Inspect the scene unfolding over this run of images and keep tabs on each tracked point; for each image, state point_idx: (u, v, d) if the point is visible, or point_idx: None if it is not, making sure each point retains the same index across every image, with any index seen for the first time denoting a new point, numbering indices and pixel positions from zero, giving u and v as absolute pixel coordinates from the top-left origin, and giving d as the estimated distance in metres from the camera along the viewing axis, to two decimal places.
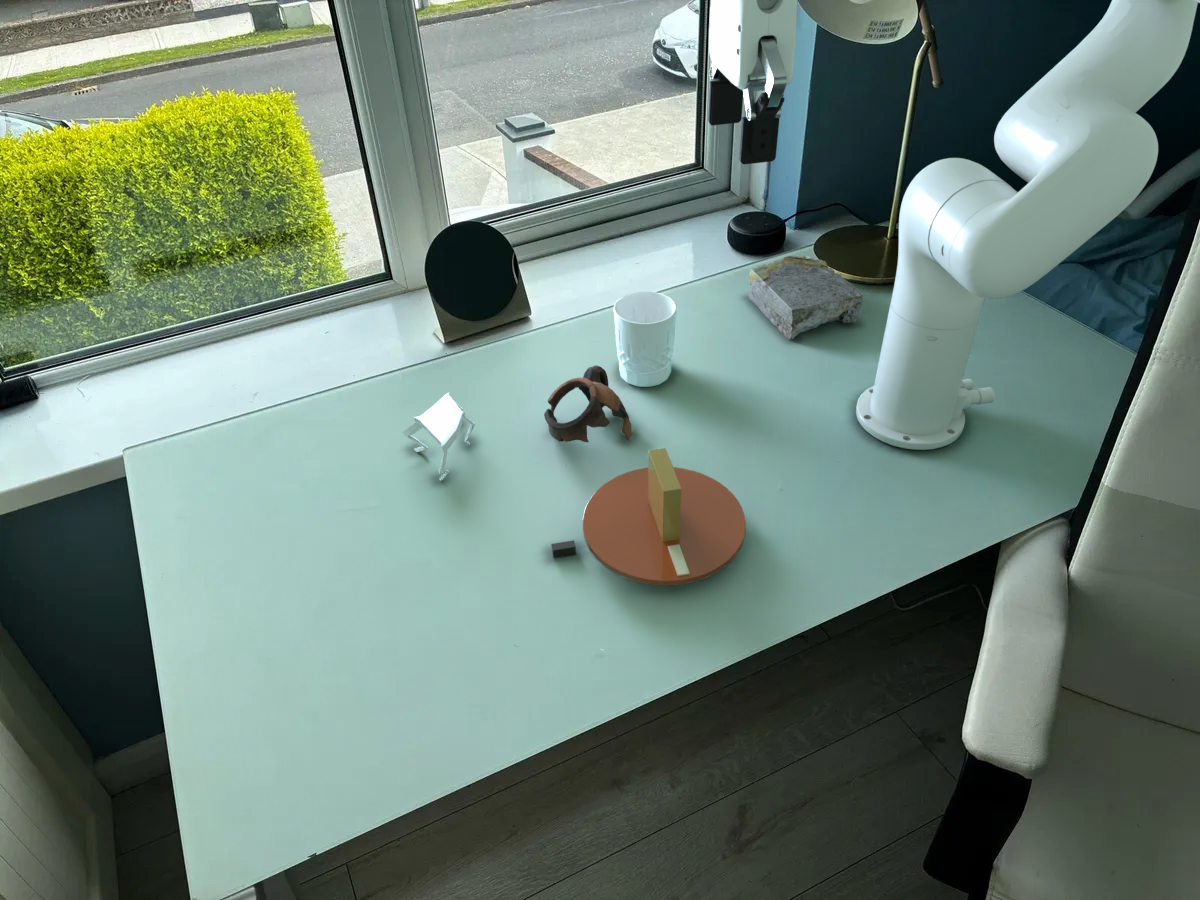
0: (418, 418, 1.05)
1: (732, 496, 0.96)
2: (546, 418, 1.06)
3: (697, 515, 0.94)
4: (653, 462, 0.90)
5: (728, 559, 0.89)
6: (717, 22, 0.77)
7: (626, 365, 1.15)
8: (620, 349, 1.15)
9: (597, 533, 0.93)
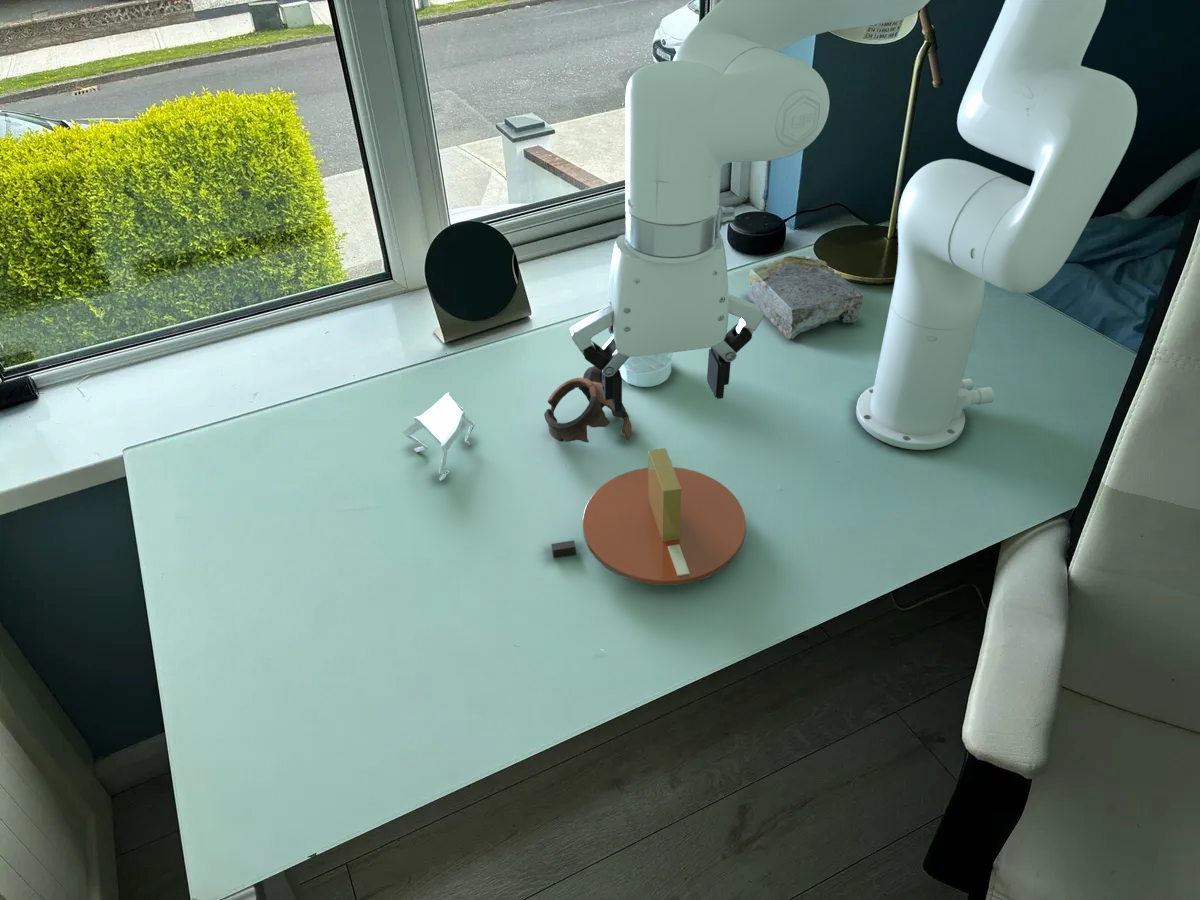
0: (418, 418, 1.05)
1: (732, 496, 0.96)
2: (546, 418, 1.06)
3: (697, 515, 0.94)
4: (653, 462, 0.90)
5: (728, 559, 0.89)
6: (664, 316, 0.76)
7: (626, 365, 1.15)
8: None
9: (597, 533, 0.93)
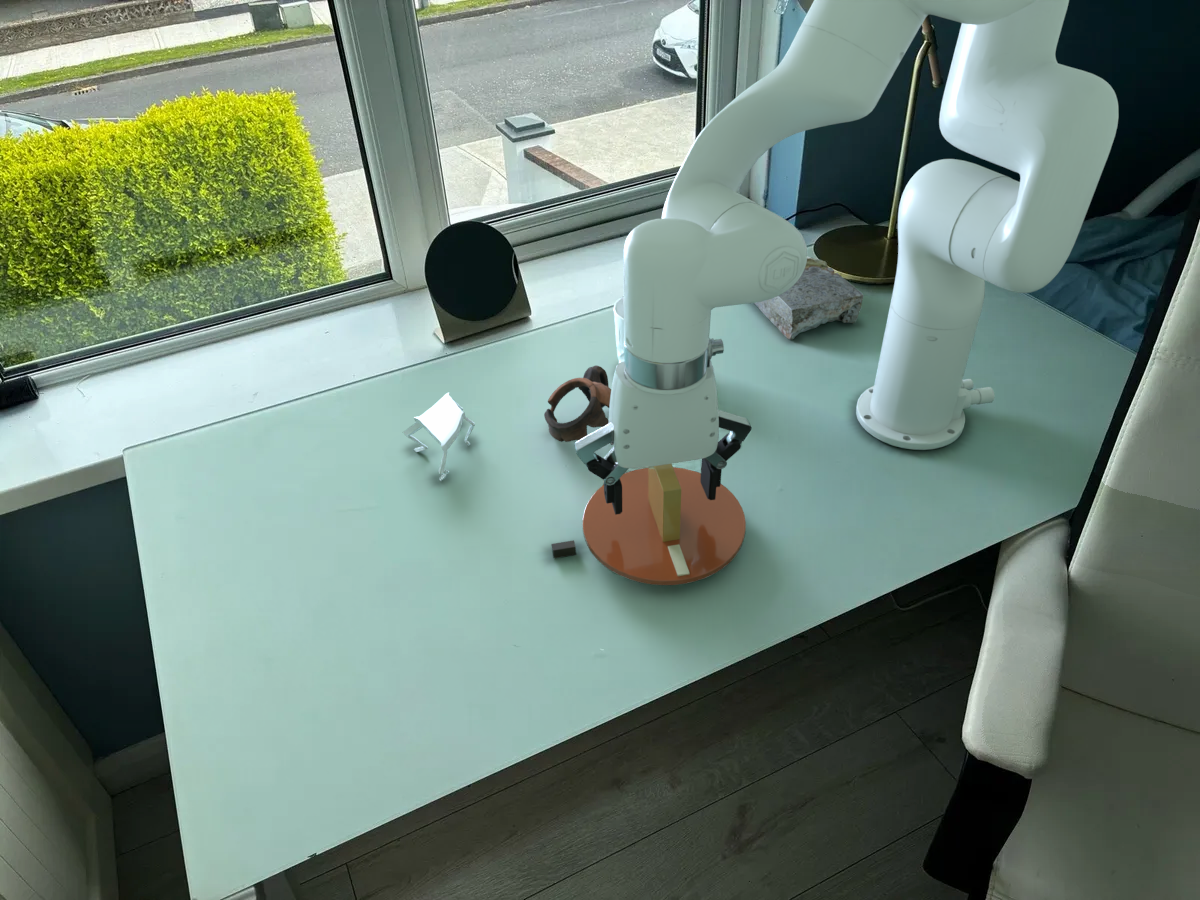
0: (418, 418, 1.05)
1: (732, 496, 0.96)
2: (546, 418, 1.06)
3: (697, 515, 0.94)
4: None
5: (728, 559, 0.89)
6: (660, 435, 0.83)
7: None
8: (620, 349, 1.15)
9: (597, 533, 0.93)
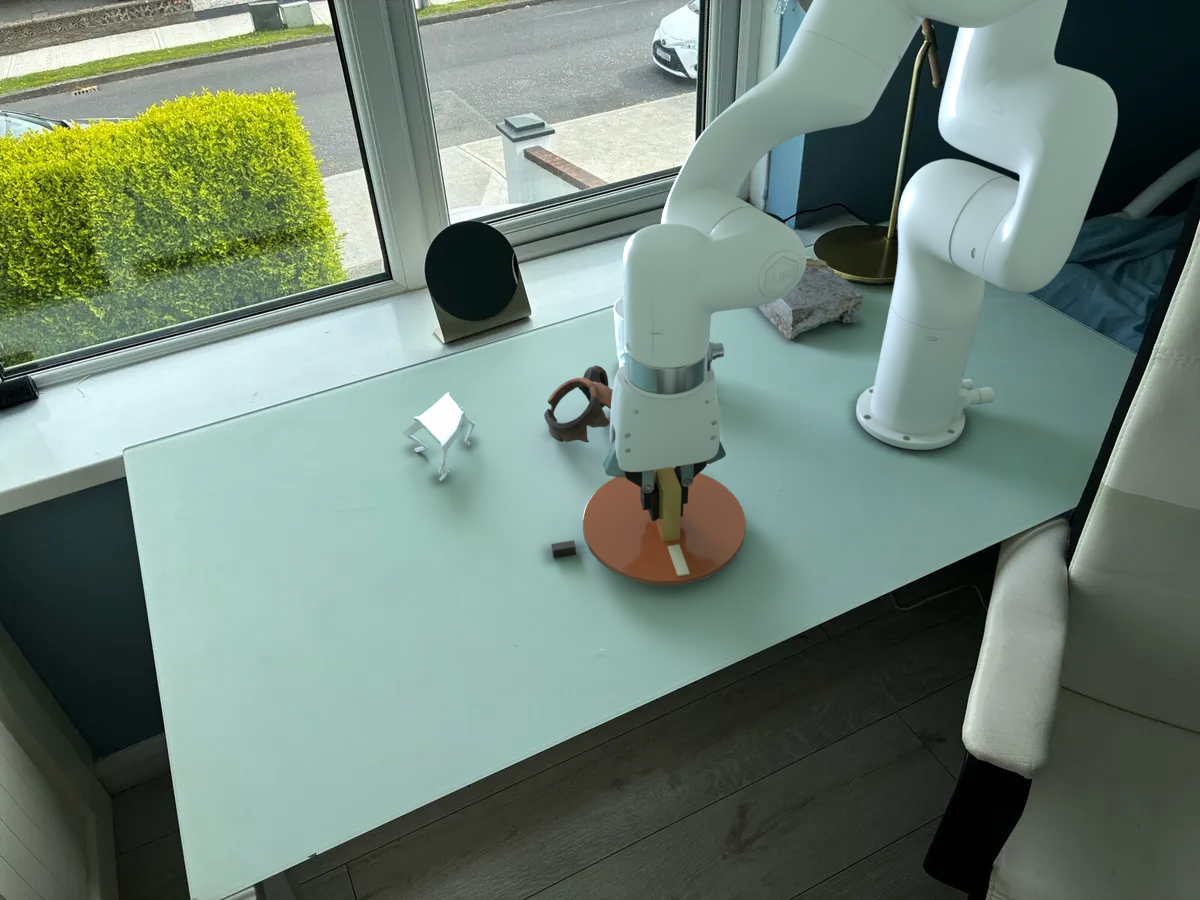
0: (418, 418, 1.05)
1: (732, 496, 0.96)
2: (546, 418, 1.06)
3: (697, 515, 0.94)
4: None
5: (728, 559, 0.89)
6: (661, 439, 0.84)
7: None
8: (620, 349, 1.15)
9: (597, 533, 0.93)
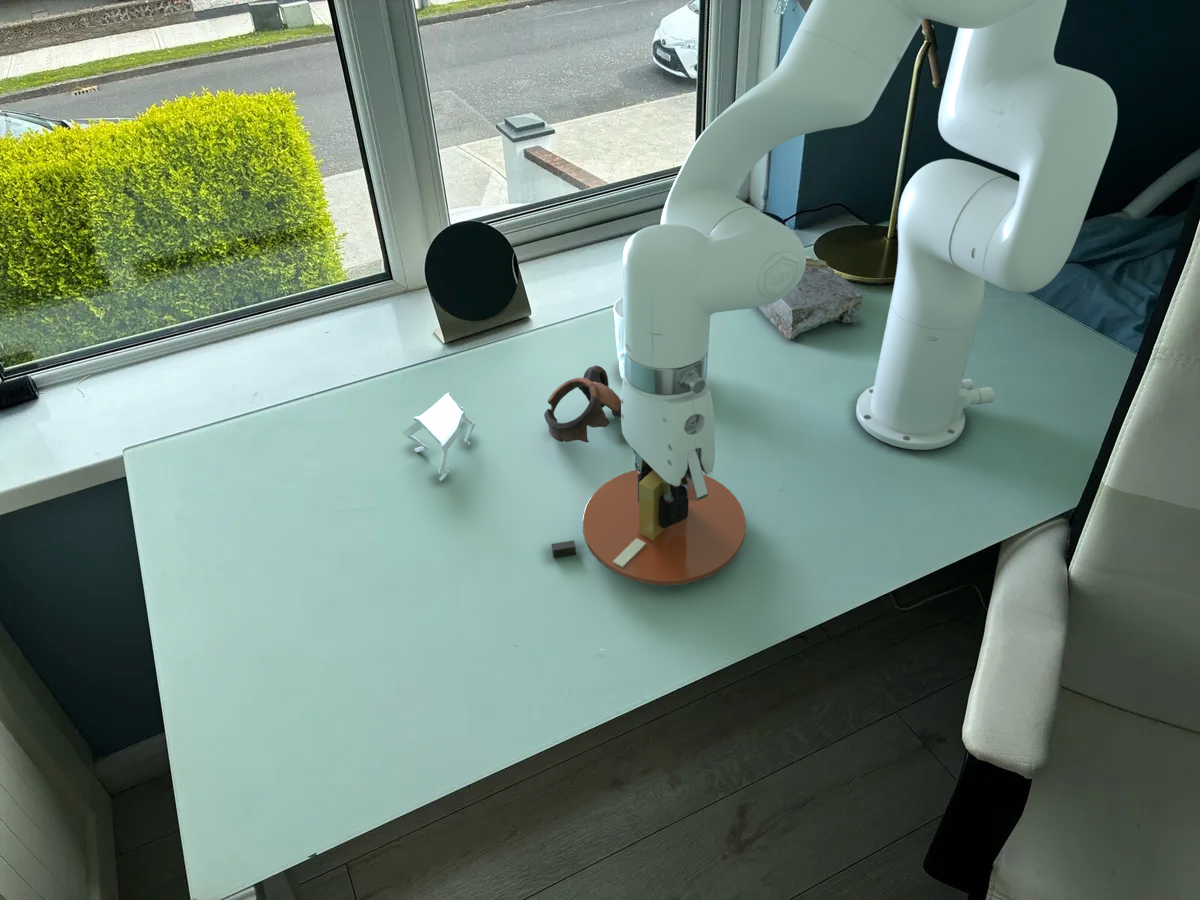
0: (418, 418, 1.05)
1: (739, 542, 0.91)
2: (546, 418, 1.06)
3: (691, 535, 0.92)
4: None
5: (664, 580, 0.87)
6: (637, 426, 0.85)
7: None
8: (620, 349, 1.15)
9: (607, 494, 0.97)
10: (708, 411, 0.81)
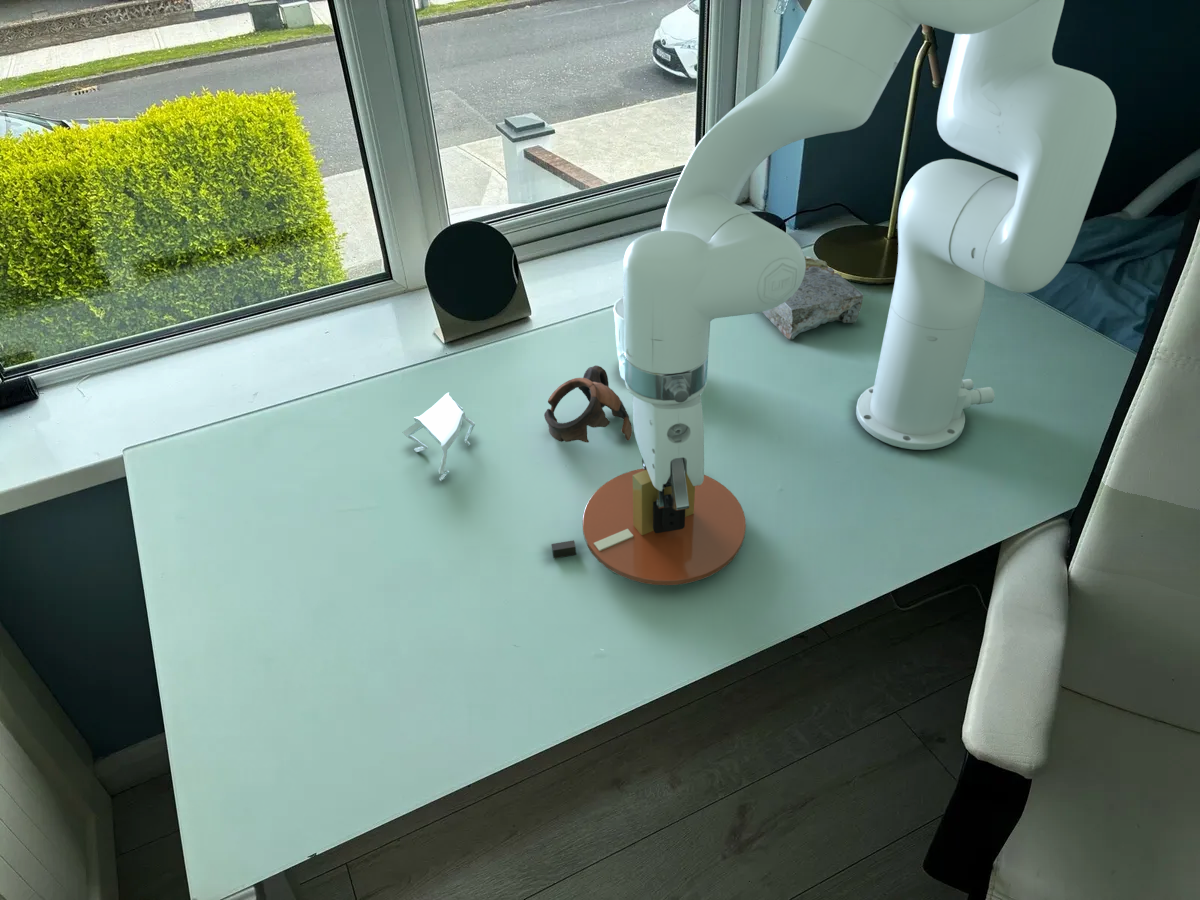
0: (418, 418, 1.05)
1: (722, 561, 0.89)
2: (546, 418, 1.06)
3: (680, 541, 0.91)
4: None
5: (630, 575, 0.88)
6: (637, 425, 0.86)
7: None
8: (620, 349, 1.15)
9: (625, 481, 0.99)
10: (696, 424, 0.80)
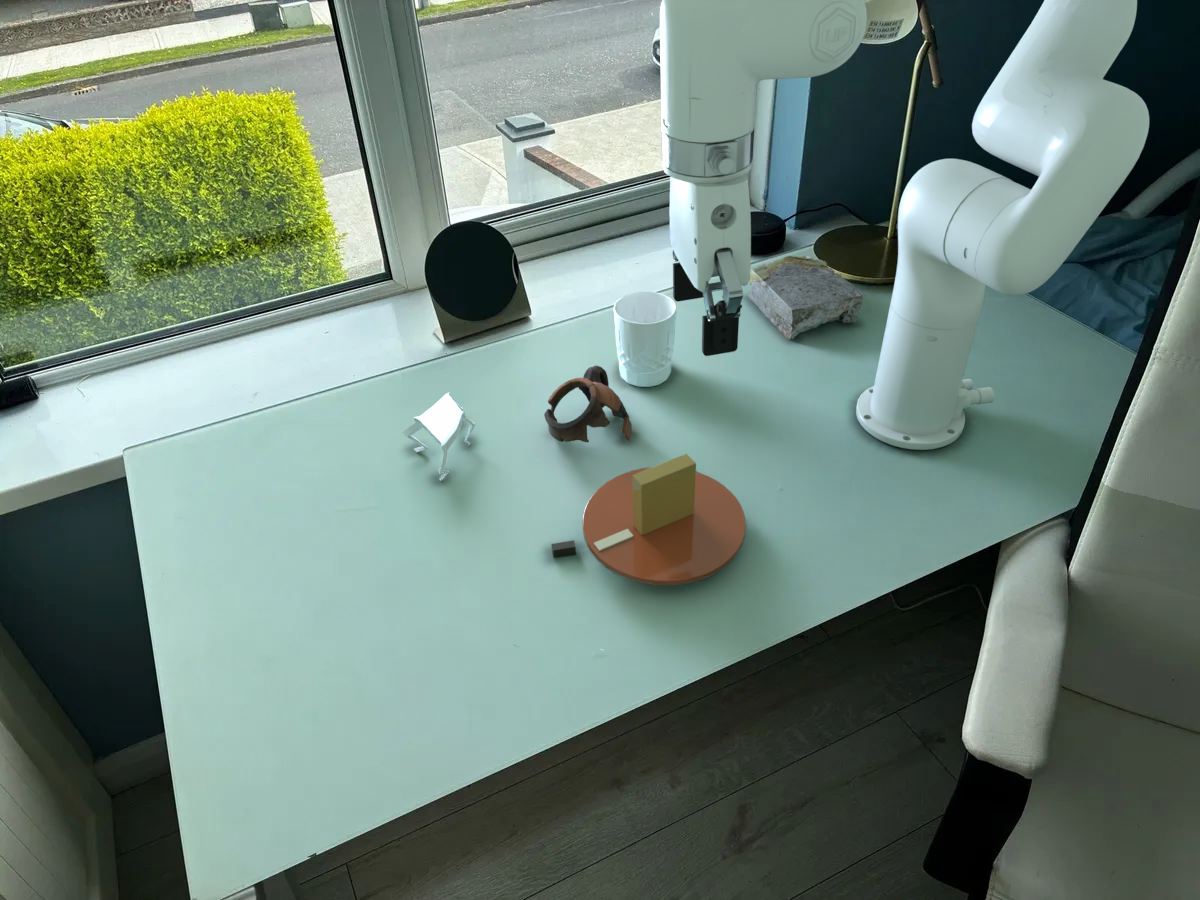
0: (418, 418, 1.05)
1: (722, 561, 0.89)
2: (546, 418, 1.06)
3: (680, 541, 0.91)
4: (671, 460, 0.90)
5: (630, 575, 0.88)
6: (676, 224, 0.79)
7: (626, 365, 1.15)
8: (620, 349, 1.15)
9: (625, 481, 0.99)
10: (742, 205, 0.73)
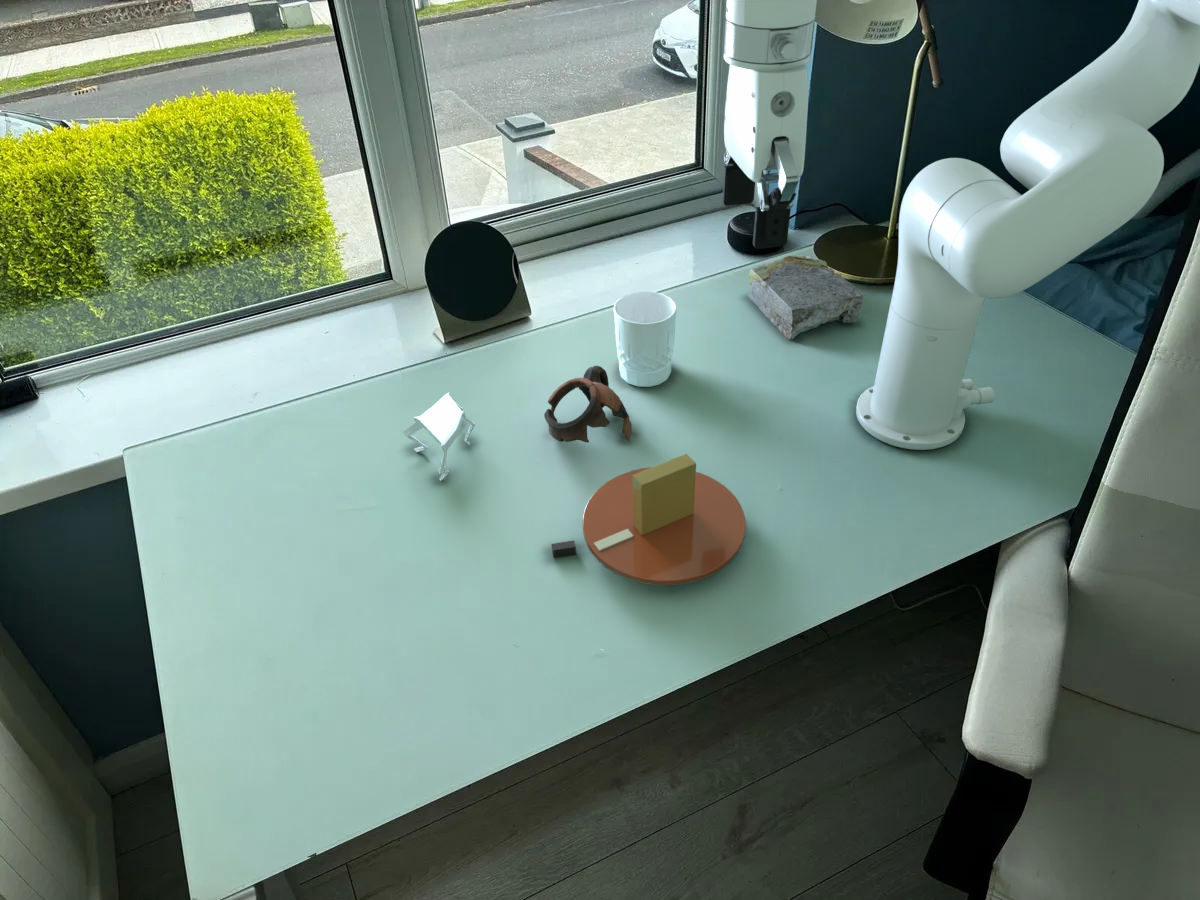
0: (418, 418, 1.05)
1: (722, 561, 0.89)
2: (546, 418, 1.06)
3: (680, 541, 0.91)
4: (671, 460, 0.90)
5: (630, 575, 0.88)
6: (732, 118, 0.83)
7: (626, 365, 1.15)
8: (620, 349, 1.15)
9: (625, 481, 0.99)
10: (801, 94, 0.77)
